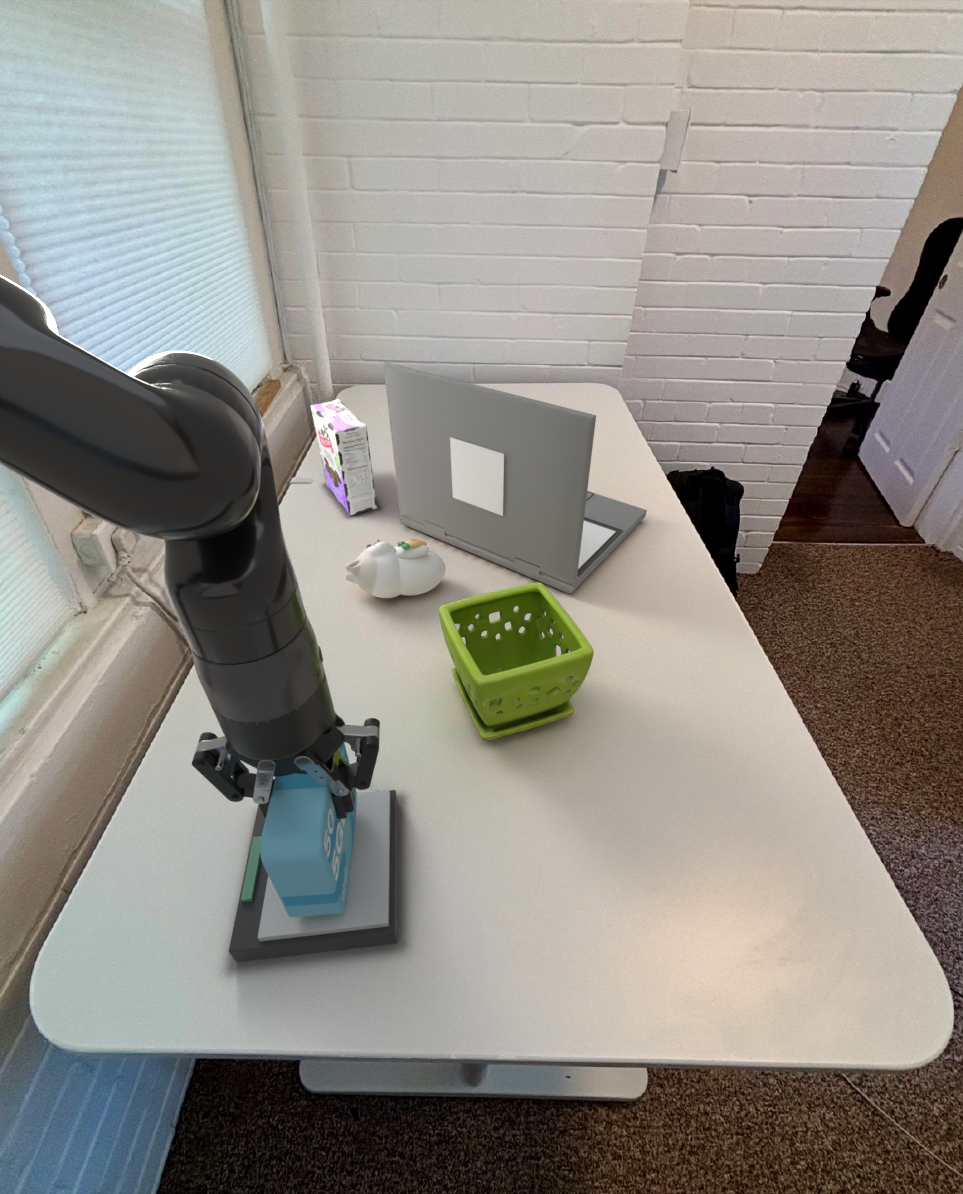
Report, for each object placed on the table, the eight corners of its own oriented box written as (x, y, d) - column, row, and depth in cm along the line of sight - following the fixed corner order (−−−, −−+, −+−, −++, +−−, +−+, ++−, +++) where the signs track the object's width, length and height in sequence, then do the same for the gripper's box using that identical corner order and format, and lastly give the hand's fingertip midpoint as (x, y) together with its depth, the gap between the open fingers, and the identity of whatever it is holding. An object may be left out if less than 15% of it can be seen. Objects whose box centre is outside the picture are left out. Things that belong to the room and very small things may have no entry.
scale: (235, 962, 51) (225, 948, 49) (264, 815, 62) (256, 798, 60) (397, 943, 52) (393, 928, 50) (397, 801, 63) (394, 784, 61)
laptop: (644, 522, 105) (676, 359, 87) (571, 599, 89) (591, 418, 71) (486, 470, 121) (485, 323, 103) (399, 527, 105) (380, 364, 87)
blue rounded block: (344, 920, 50) (318, 850, 43) (291, 924, 50) (255, 854, 43) (358, 795, 60) (339, 719, 52) (313, 798, 59) (287, 722, 52)
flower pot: (586, 726, 71) (598, 651, 63) (477, 762, 67) (475, 686, 59) (537, 649, 81) (542, 576, 73) (440, 676, 77) (434, 602, 69)
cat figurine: (447, 529, 87) (343, 532, 83) (454, 579, 84) (346, 584, 81) (438, 555, 96) (343, 559, 92) (444, 602, 93) (346, 608, 90)
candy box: (325, 485, 117) (308, 403, 107) (353, 477, 119) (340, 397, 109) (348, 517, 108) (333, 431, 97) (379, 508, 110) (367, 424, 99)
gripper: (135, 729, 36) (216, 864, 47) (371, 708, 37) (397, 845, 48) (171, 644, 42) (236, 782, 53) (374, 628, 43) (397, 766, 54)
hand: (312, 811), depth 50 cm, fingers closed on blue rounded block, 4 cm apart
